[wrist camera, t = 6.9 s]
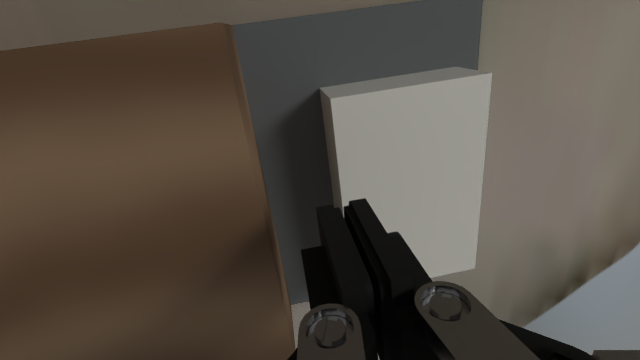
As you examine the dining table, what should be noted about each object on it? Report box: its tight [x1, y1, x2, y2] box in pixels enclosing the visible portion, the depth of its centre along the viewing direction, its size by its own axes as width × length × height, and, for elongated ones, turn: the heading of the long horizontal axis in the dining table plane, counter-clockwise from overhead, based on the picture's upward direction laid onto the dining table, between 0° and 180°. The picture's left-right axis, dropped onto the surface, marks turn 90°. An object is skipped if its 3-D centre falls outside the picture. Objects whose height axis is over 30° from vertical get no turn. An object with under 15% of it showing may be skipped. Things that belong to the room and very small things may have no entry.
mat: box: [232, 0, 483, 305], centre depth 16 cm, size 14×10×1 cm
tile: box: [320, 67, 492, 278], centre depth 15 cm, size 9×6×2 cm, turn 7°
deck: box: [0, 23, 295, 360], centre depth 13 cm, size 14×13×4 cm
